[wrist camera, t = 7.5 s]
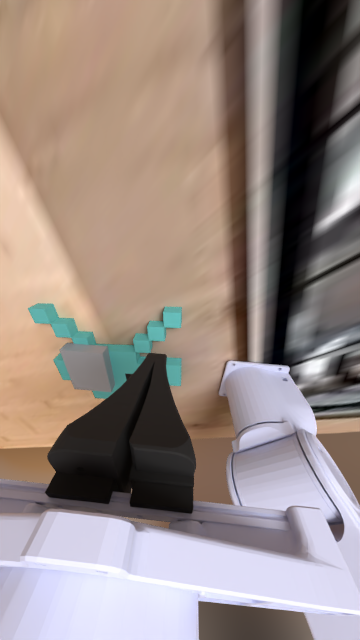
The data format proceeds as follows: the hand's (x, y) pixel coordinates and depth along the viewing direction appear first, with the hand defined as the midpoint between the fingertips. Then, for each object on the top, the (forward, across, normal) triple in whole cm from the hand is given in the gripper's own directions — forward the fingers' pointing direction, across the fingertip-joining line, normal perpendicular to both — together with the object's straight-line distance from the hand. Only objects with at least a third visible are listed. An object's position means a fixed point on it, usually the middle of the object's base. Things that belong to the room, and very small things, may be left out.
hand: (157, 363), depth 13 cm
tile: (+8, +9, +10) cm, 16 cm away
